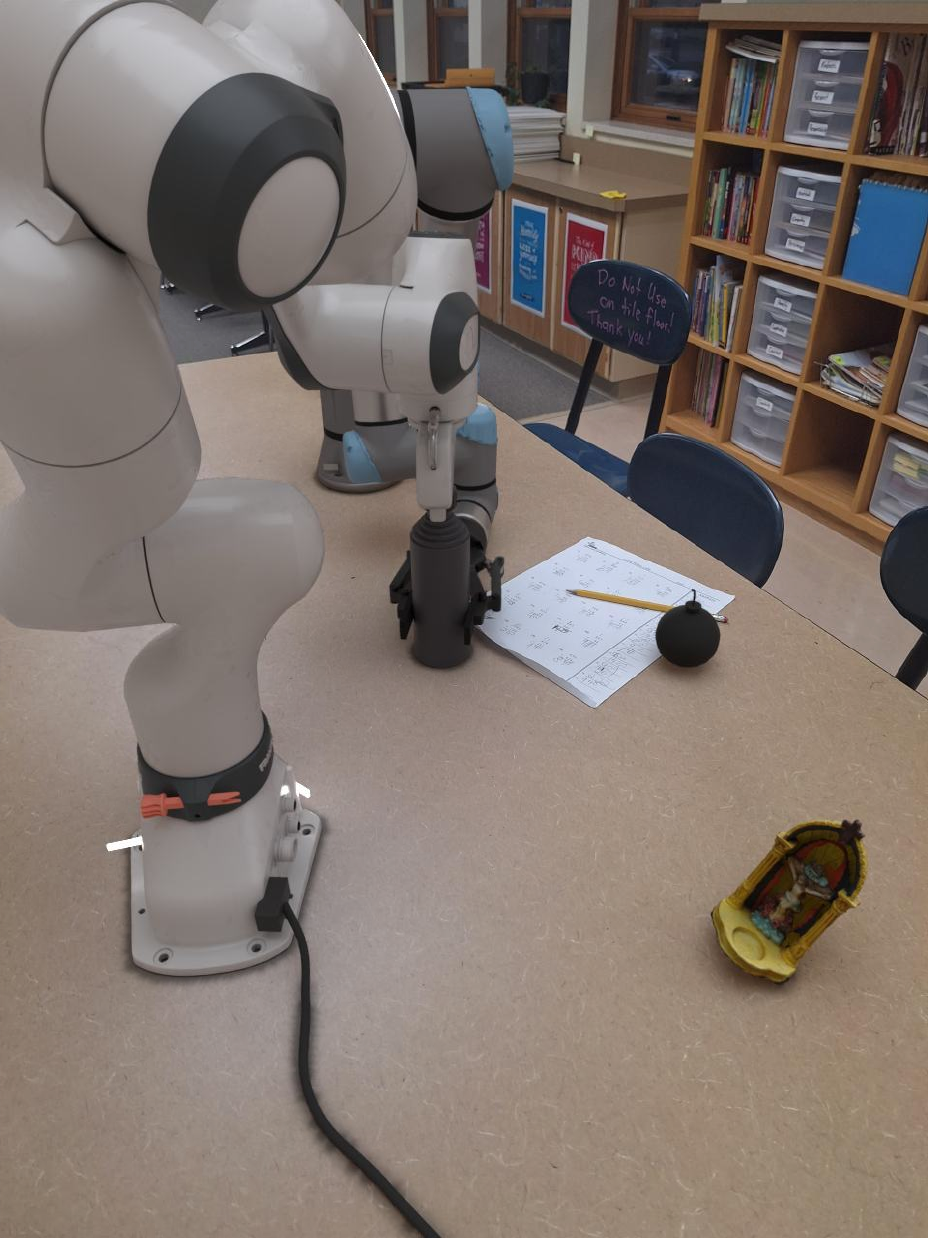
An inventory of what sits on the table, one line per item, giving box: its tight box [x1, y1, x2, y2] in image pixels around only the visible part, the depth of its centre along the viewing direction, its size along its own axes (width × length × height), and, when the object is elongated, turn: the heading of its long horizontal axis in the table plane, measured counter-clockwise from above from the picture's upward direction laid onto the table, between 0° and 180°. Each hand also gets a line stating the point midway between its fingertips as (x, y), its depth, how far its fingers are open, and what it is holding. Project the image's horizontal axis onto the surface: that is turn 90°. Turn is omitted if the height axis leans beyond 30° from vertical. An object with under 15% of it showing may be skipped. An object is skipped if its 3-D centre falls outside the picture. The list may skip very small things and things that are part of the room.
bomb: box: [654, 588, 722, 669], centre depth 107 cm, size 8×8×12 cm
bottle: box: [409, 511, 471, 669], centre depth 106 cm, size 7×7×23 cm
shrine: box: [710, 818, 868, 986], centre depth 72 cm, size 12×8×15 cm
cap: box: [423, 484, 457, 513], centre depth 99 cm, size 4×4×2 cm
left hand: (439, 506), depth 100 cm, fingers open, 4 cm apart
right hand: (434, 633), depth 105 cm, fingers closed on bottle, 7 cm apart
